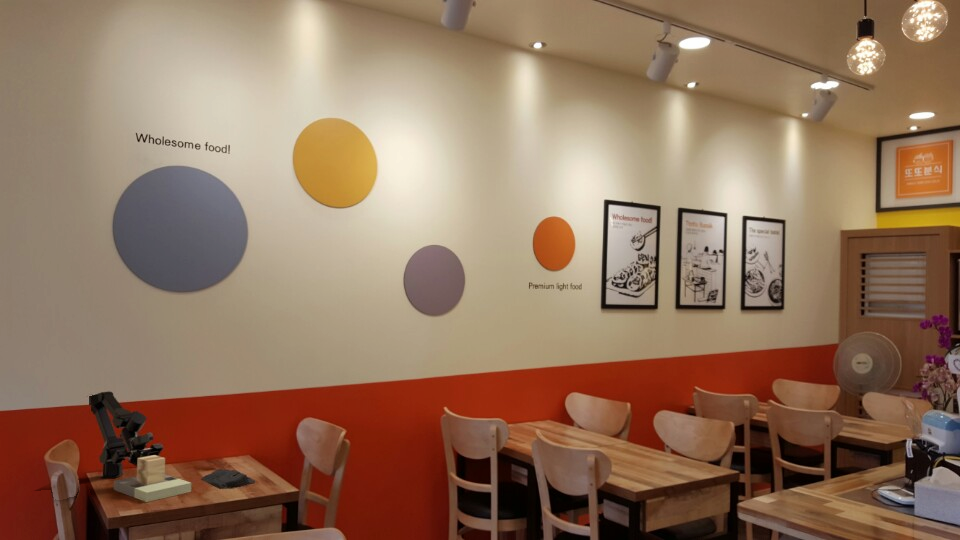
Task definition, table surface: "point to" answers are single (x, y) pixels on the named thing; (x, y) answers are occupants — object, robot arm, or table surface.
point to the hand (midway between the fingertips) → (145, 470)
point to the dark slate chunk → (227, 479)
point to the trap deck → (152, 488)
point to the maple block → (150, 469)
